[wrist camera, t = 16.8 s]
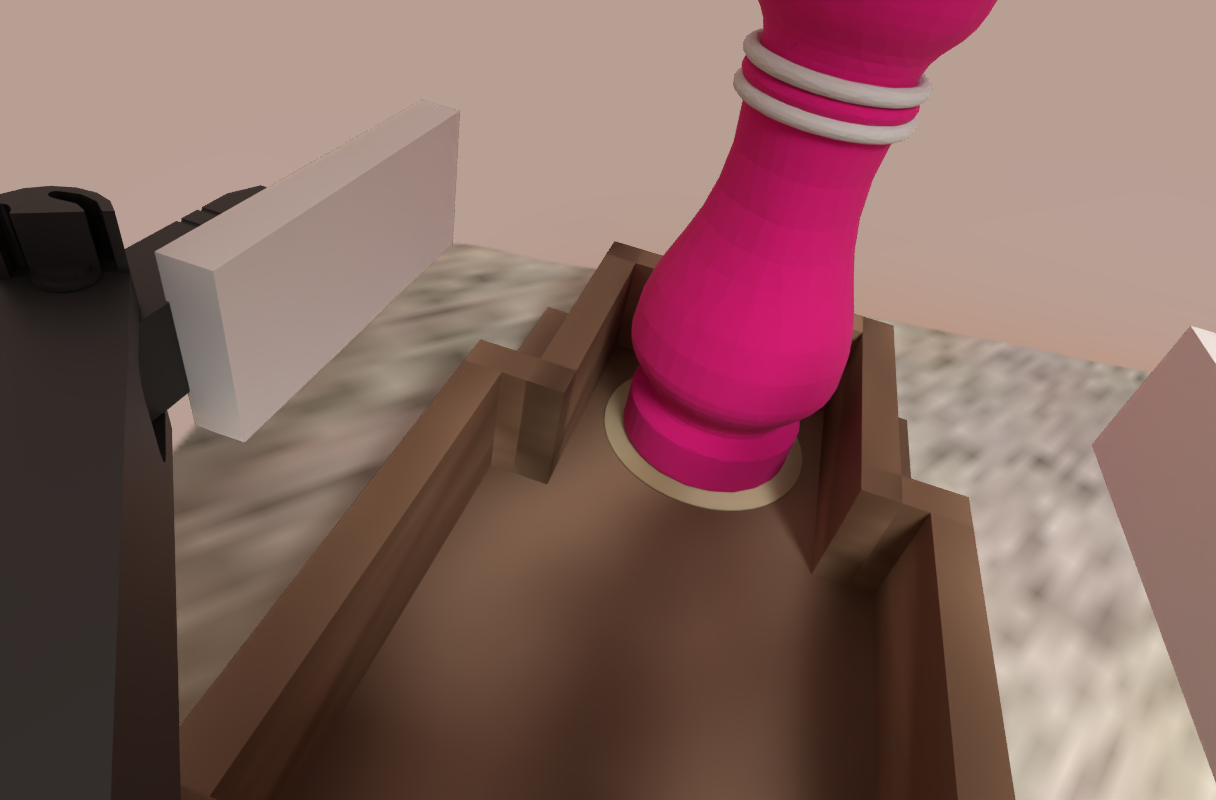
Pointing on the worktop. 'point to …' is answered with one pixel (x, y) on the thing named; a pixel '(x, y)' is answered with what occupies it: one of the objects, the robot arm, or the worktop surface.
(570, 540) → the keyhole cradle
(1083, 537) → the worktop surface
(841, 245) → the pepper mill
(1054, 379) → the worktop surface
